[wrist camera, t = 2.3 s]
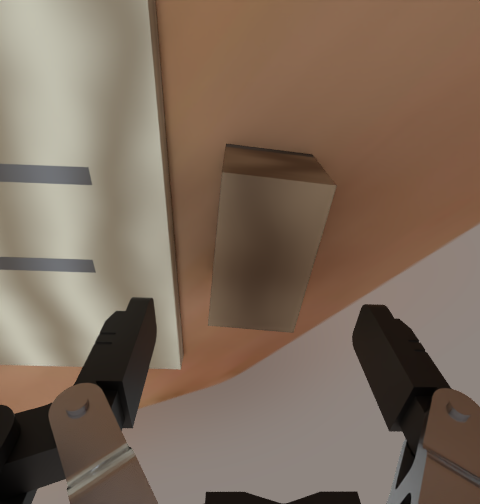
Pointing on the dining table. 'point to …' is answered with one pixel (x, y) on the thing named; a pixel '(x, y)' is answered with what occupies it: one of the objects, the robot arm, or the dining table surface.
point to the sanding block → (266, 236)
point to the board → (82, 179)
